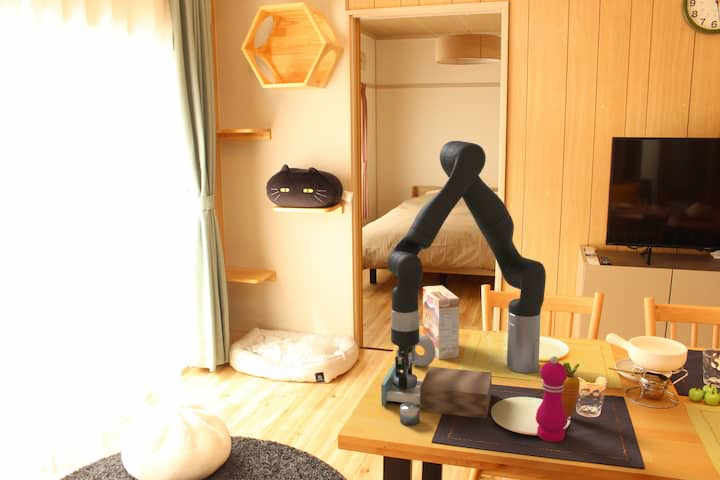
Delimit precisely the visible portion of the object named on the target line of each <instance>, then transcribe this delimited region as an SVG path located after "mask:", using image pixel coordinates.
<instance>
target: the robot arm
mask: <svg viewBox="0 0 720 480" xmlns="http://www.w3.org/2000/svg"><path fill="white" fill-rule="evenodd" d="M486 159H487V158H486V153H485V150H484V148H483V147H482V146H481V145H479V144H476V143H473V142H469V141H462V140H451V141H448V142H446V143H445V144H444V145H443V146H442V147H441V149H440V152H439V163H440V165H441V168H442V170H443V171H444V174H446V176H447V177H448V179H447V181H446V182H445V184H444V185H443V186H442V187H441V189H440V190H439V191H438V192H437V193H436V194H435V195H434V196H433V197H432V198H430V199H429V200H428V201H427V202H426V204H424V205H423V206H422V208H421V209H420V210H419V212H418V213H417V214H416V217H415V218H414V220H413V221H412V224H411V225H410V227H409V229H408V231H407V233H406V234H405V235H404V236H403V237H402V238H401V239H400V240H399V242H398V243H397V244H396V245H395V246H394V247H393V248H392V250H391V252H390V254H389V256H388V259H387V269H388V271H389V273H391V274H393V275H394V276H396V277H397V286H395V287H394V288H393V289H392V291H391V314H390V341H391V343H392V345H395V346H397V347H398V349H396V355H395V357H394V361H395V362H394V364H395V366H396V377H398V388H399V390H406V389H407V376H408V374H407V373H411V374H413V366H414V364H413V362H414V360H415V359H414V348H415V349H416V347H415V345H416V344H418V343H419V334H420V313H419V312H420V311H419V293H420V289H421V285H422V280H423V275H424V266H423V262H422V260H421V258H419V256H418V255H419V254H420V253H421V251H422V250H427V249H429V248H430V247H431V246H432V244H433V243H434V241H435V240H436V238H437V236H438V234H439V232H440V231H441V228H442V227H443V225H444V223H445V222H446V220H447V219H448V216H449V215H450V214H451V212H452V211H453V209H454V208H455V207H456V206H457V204H458V203H459V202H460V200H461V199H462V200H463V202H464V203H465V206H466V207H467V209H468V210H469V212H470V214H471V216H472V218H473V219H474V222H475V224H476V225H477V227H478V229H479V232H480V233H481V234H482V235H483V237H484V239H485V241H486V243H487V245H488V246H489V248H490V250H491V252H492V253H493V256H494V258H495V260H496V262H497V265H498V268H499V270H500V273H501V275H502V277H503V279H504V281H505V282H506V284H508V285H509V286H510V287H512V288H515V289H518V290H520V293H519V298H514V299H512V300H510V301H509V303H508V307H507V311H508V312H507V340H506V341H507V343H506V344H507V346H506V347H507V348H506V367H507V369H509V370H511V371H513V372H517V373H522V374H523V373H525V374H528V373H529V374H530V373H535V372H536V373H538V372H539V367H540V365H539V363H540V337H541V312H542V307H543V304H544V301H545V292H546V279H547V273H546V268H545V266H544V264H543V263H542V262H540V261H537V260H534V259H530V258H527V257H523V256H522V255H521V254H520V253H519V251H518V249H517V248H516V245H515V243H514V240H513V239H514V238H513V237H514V232H515V225H514V221H513V218H512V216H511V214H510V212H509V210H508V208H507V206H506V204H505V203H504V201H503V200H502V199H501V198H500V196H498V195H497V194H496V192H495V191H494V190H493V189H491V188H490V187H489V186H488V185H487V184H486V183H485V181H483V179H482V177H480V174H481V173H482V172H483V170H484V167H485V165H486Z"/></svg>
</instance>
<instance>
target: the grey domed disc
mask: <svg viewBox="0 0 720 480" xmlns="http://www.w3.org/2000/svg"><path fill="white" fill-rule="evenodd" d="M407 374H408V376H407V389H411V388H414V387H416V386H417V379H418V376H417V375H416V374H414V373H412V374H411V373H407ZM393 384H394V386H395V387H397V388H398V377H396V375H395V376H394V377H393Z"/></svg>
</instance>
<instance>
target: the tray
mask: <svg viewBox="0 0 720 480" xmlns="http://www.w3.org/2000/svg"><path fill="white" fill-rule="evenodd" d="M395 375H396V366H395V363H393V364H392V365H391V367H390V369H389V370H388V372H387V374H386V375H385V378H384V379H383V381H382V383H381V384H380V385H381V387H380V388H381V389H380V391H381V406H383V407H385V406H386V405H387V404H388V401H389V402H398V403H406V402H412V403H416V404H418V405H420V387H421V385H422V382H423V380H424V379H418V378H417V386H416V387H414V388H411V389H406V390H399V388H397V387H395V386H394V384H393V377H394V376H395Z"/></svg>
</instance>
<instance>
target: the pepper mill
mask: <svg viewBox="0 0 720 480" xmlns="http://www.w3.org/2000/svg"><path fill="white" fill-rule="evenodd" d="M549 360H550V361H548V362H545V363H544V364H543V365H542V366H541V368H540V372H539V374H540V378H541V379H542V381H541V384H542V385H541V388H542V389H543V398H542V401H541V403H540V405H539V406H538V408H537V409H536V410H537V411H536V412H535V413H536V414H535V421H536V423H537V428H536V429H537V431H536V432H537V433H536V434H537V437H539V438H540V439H541V440H543V441H546V442H548V443H549V442H550V443H557V442H562V441H563V440H564V439H565V436H566V435H565V434H566V429H565V428H566V426H567V425H568V422H569V421H568V418H567V413H566V411H565V408H564V406H563V404H562V399H561V394H562V391H563V390H564V383H563V382H564V381H565V380H566V378H567V371H566V368H565V367H564V365H563V363H561V362H559V358H558V357H557V356H551V357H550V359H549Z"/></svg>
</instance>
